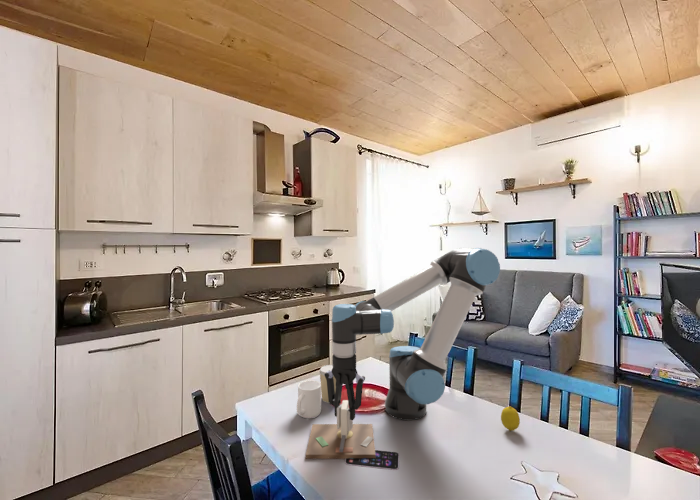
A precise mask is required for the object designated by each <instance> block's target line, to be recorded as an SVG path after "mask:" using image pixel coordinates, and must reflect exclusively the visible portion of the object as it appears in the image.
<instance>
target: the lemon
mask: <svg viewBox="0 0 700 500" xmlns="http://www.w3.org/2000/svg"><path fill="white" fill-rule="evenodd" d="M520 420H521V419H520V415H519V412H518V411H517V410H516V409H515V408H514V407H512V406H510V405H509V406H506V407H504V408H503V409H502V410H501V415H500V421H501V423H502V425H503V427H504V428H505V429H507V430H508V431H509V432H512V431H515V430H517V429H518V428H519V427H520V423H521V422H520Z"/></svg>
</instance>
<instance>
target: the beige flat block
mask: <svg viewBox="0 0 700 500" xmlns="http://www.w3.org/2000/svg"><path fill="white" fill-rule="evenodd" d="M341 404H342V406H341V438H342V439H341V444H340V449H339V452H343V449H344V443H345V439H347V435H348V434H349V431H347V410H348V409H349V403H348V399H342V401H341Z"/></svg>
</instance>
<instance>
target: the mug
mask: <svg viewBox="0 0 700 500" xmlns="http://www.w3.org/2000/svg"><path fill="white" fill-rule="evenodd" d="M297 392H298V393H297V397H298V398H297V400H296V401H297V402H296V412H297V414H298V415H299V417H301V418H303V419H315V418H317V417H318V416H319V415H321V413H322V394H321V381H317V380H305V381H302V382H299V384H298V385H297Z"/></svg>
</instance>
